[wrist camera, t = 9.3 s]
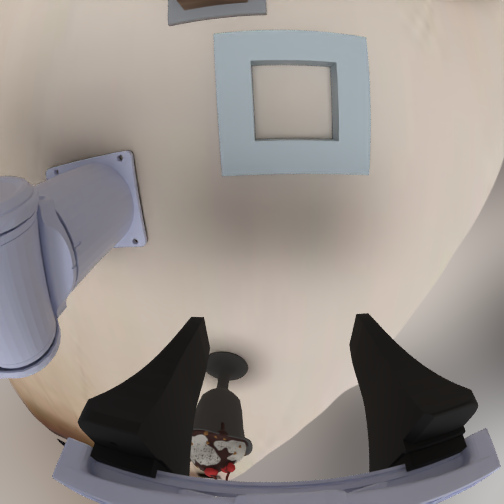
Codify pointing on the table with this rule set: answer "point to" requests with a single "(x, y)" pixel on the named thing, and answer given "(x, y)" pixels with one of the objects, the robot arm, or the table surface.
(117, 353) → the table surface
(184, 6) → the walnut block
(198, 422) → the sundae
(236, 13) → the plate
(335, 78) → the pocket holder
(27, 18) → the table surface
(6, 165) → the table surface
